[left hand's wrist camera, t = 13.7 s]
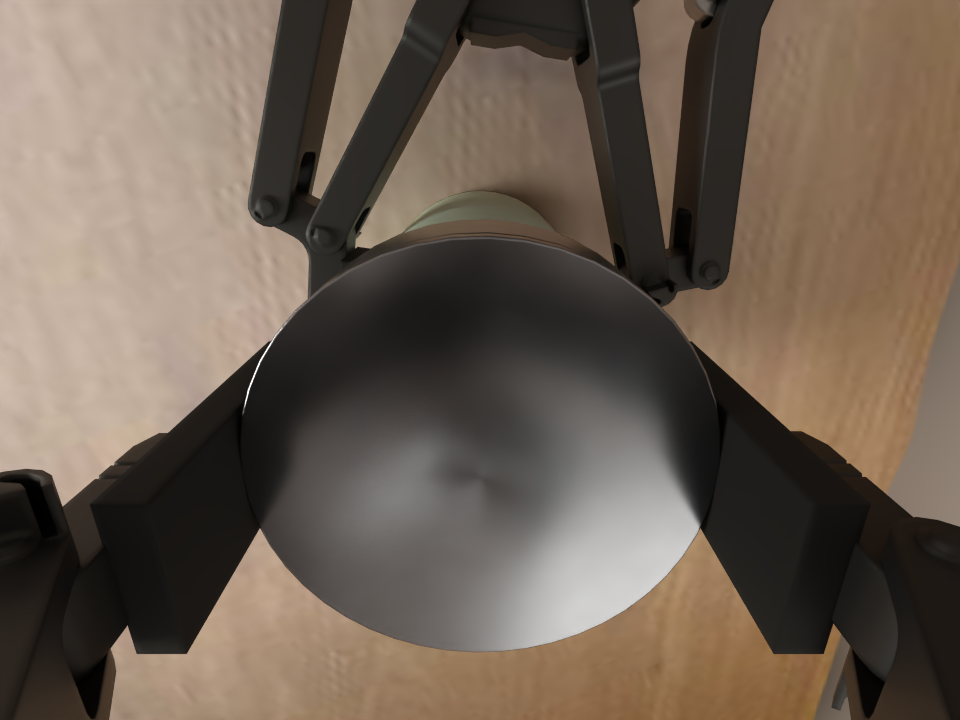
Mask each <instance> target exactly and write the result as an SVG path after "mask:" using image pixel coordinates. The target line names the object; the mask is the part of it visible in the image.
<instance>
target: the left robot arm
mask: <svg viewBox="0 0 960 720" xmlns="http://www.w3.org/2000/svg"><path fill="white" fill-rule="evenodd" d="M270 342H271V341H269V342H268V343H267V344H266V345H264V346H263V347H262V348H261V349H260V350H259V351H258V352H257V353H256V354H255V355H253V356H252V357H251V358H250V359H249V360H248V361H247V362H246V363H245V364H244V365H242V366H241V367H240V368H239V369H238V370H237V371H236V372H235V373H234V374H233V375H231V376H230V377H229V378H228V379H227V380H226V381H225V382H224V383H223V384H222V385H220V386H219V387H218V388H217V389H216V390H215V391H214V392H213V393H212V394H210V395H209V396H208V397H207V398H206V399H205V400H204V401H203V402H202V403H201V404H199V405H198V406H197V407H196V408H195V409H194V410H193V411H192V412H191V413H190V414H188V415H187V416H186V417H185V418H184V419H183V420H182V421H181V422H180V423H179V424H177V425H176V426H175V427H174V428H173V429H172V430H171V431H170V432H169V433H159V434H157V435H155V436H153V437H151V438H149V439H147V440H145V441H143V442H141V443H139V444H137V445H135V446H133V447H132V448H131V449H130V450H129V451H127V452H126V453H125V454H124V455H123V456H122V457H120V458H119V459H118V460H117V461H116V462H115V465H114V466H110V467H109V468H108V469H106V470H105V471H104V472H103V473H102V474H100V475H99V479H95V480H93V481H92V482H91V483H90V484H89V485H88V486H86V487H85V488H84V489H83V490H82V491H81V492H79V493H78V494H77V495H76V496H75V497H74V498H72V499H71V500H70V501H69V502H68V503H67V504H65V505H64V506H63V507H62V504H61V501H60V498H59V495H58V492H57V489H56V487H55V484H54V481H53V478H52V475H50V474H48V473H47V472H45V471H43V470H33V469H22V470H14V471H5V472H1V473H0V720H109V716H110V710H111V703H112V696H113V689H114V682H115V675H116V667H115V661H114V658H113V655H112V652H111V649H110V648H111V647H112V646H113V644H114V643H115V642H116V640H117V639H118V638H119V636H120V635H121V633H122V632H123V631H124V629H125V628H126V627H127V625H128V628H129V631H130V634H131V637H132V640H133V643H134V647H135V650H136V653H137V654H187V652H188V651H189V649H190V647H191V645H192V644H193V642H194V640H195V639H196V637H197V635H198V633H199V632H200V630H201V628H202V627H203V625H204V623H205V621H206V620H207V618H208V616H209V615H210V613H211V611H212V609H213V608H214V606H215V604H216V602H217V601H218V599H219V597H220V596H221V594H222V592H223V590H224V589H225V587H226V585H227V584H228V582H229V580H230V578H231V577H232V575H233V573H234V572H235V570H236V568H237V566H238V565H239V563H240V561H241V560H242V558H243V556H244V554H245V553H246V551H247V549H248V548H249V546H250V544H251V542H252V541H253V539H254V537H255V535H256V534H257V532H258V530H259V529H260V527H259V525H258V523H257V521H256V518H255V516H254V513H253V510H252V508H251V505H250V503H249V500H248V497H247V493H246V489H245V483H244V478H243V473H242V467H241V457H240V431H241V419H242V412H243V408H244V404H245V400H246V396H247V391H248V387H249V385H250V383H251V380H252V378H253V375H254V373H255V370H256V368H257V366H258V363H259V361H260V359H261V357H262V356H263V354H264V352H265V351H266V349H267V347H268V346H269V344H270ZM690 343H691V344H692V346H693V347H694V349H695V351H696V353H697V355H698V357H699V359H700V361H701V363H702V365H703V367H704V369H705V371H706V373H707V376H708V379H709V382H710V385H711V388H712V391H713V394H714V397H715V400H716V405H717V412H718V418H719V424H720V463H719V469H718V475H717V480H716V486H715V490H714V494H713V497H712V500H711V504H710V507H709V510H708V512H707V514H706V517H705V519H704V521H703V523H702V525H701V527H700V528H701V530H702V531H703V533H704V535H705V537H706V538H707V540H708V542H709V544H710V545H711V547H712V549H713V550H714V552H715V554H716V556H717V557H718V559H719V561H720V562H721V564H722V566H723V568H724V569H725V571H726V573H727V574H728V576H729V578H730V580H731V581H732V583H733V585H734V586H735V588H736V590H737V592H738V593H739V595H740V597H741V599H742V600H743V602H744V604H745V605H746V607H747V609H748V611H749V612H750V614H751V616H752V617H753V619H754V621H755V623H756V624H757V626H758V628H759V629H760V631H761V633H762V635H763V636H764V638H765V640H766V641H767V643H768V645H769V647H770V648H771V650H772V652H773V653H774V654H824V651H825V648H826V645H827V641H828V638H829V635H830V632H831V629H832V626H833V623H834V625H835V626H836V627H837V629H838V630H839V631H840V633H841V634H842V635H843V637H844V638H845V639H846V641H847V642H848V643H849V645H850V649H849V652H848V655H847V658H846V661H845V663H844V666H843V669H842V672H841V675H840V678H839V681H838V684H837V687H836V690H835V693H834V696H833V702H832V708H834V709H837V710H841V707H842V704H843V702H844V699H845V698H846V697H848V701H849V708H850V715H851V720H960V527H959V526H955V525H952V524H949V523H946V522H942V521H939V520H934V519H927V518H920V517H912V516H911V515H910V514H909V513H908V512H906V511H905V510H904V509H903V508H902V507H901V506H899V505H898V504H897V503H896V502H895V501H894V500H892V499H891V498H890V497H889V496H888V495H886V494H885V493H884V492H883V491H882V490H881V489H879V488H878V487H877V486H876V485H875V484H873V483H872V482H871V481H870V480H869V479H868V478H866V477H862V473H861V472H859V471H858V470H857V469H856V468H855V467H853V466H852V465H851V464H847V463H846V460H845V459H844V458H843V457H842V456H840V455H839V454H838V453H837V452H836V451H835V450H833V449H832V448H831V447H830V446H829V445H827V444H825V443H823V442H821V441H819V440H818V439H816V438H814V437H812V436H810V435H808V434H806V433H804V432H802V431H790V430H788V429H787V428H786V427H785V426H784V425H783V424H782V423H781V422H780V421H779V420H777V419H776V418H775V417H774V416H773V415H772V414H771V413H770V412H769V411H767V410H766V409H765V408H764V407H763V406H762V405H761V404H760V403H759V402H758V401H756V400H755V399H754V398H753V397H752V396H751V395H750V394H749V393H748V392H747V391H745V390H744V389H743V388H742V387H741V386H740V385H739V384H738V383H737V382H736V381H734V380H733V379H732V378H731V377H730V376H729V375H728V374H727V373H726V372H725V371H723V370H722V369H721V368H720V367H719V366H718V365H717V364H716V363H715V362H714V361H712V360H711V359H710V358H709V357H708V356H707V355H706V354H705V353H704V352H702V351H701V350H700V349H699V348H698V347H697V346H696V345H695V344H694V343H693V342H691V341H690Z"/></svg>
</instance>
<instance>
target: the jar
mask: <svg viewBox="0 0 960 720" xmlns="http://www.w3.org/2000/svg"><path fill="white" fill-rule="evenodd" d="M479 219H490V220H500V221H510V222H518V223H523V224H527V225H531V226H535V227H539V228H543V229H547V230H550V231H552V232H555V233H557V232H556V231H555V230H554V229H553V228H552V227H551V226H550V225H549V224H548V222H547V221H546V220H545V219H544V218H543V217H542V216H541V215H540V214H539V213H538V212H536V211H535V210H534V209H532V208H531V207H530V206H528V205H527V204H525V203H523V202H521V201H520V200H518V199H515V198H513V197H510V196H508V195H504V194H500V193H496V192H488V191H470V192H465V193H459V194H456V195H453V196H450V197H447V198H445V199H443V200H441V201H438V202H436V203H435V204H433V205H432V206H430V207H429V208H427V209H426V210H425V211H424V212H423V213H422V214H420V215H419V216H418V217H417V218H416V219H415V220H414V221H413V222H412V224H411V225H410V226H409V227H408V228H407V229H406V230H405V231H404V232H403V233H405V232H409V231H412V230H415V229H418V228H421V227H424V226H428V225H433V224H439V223H444V222H450V221H456V220H479ZM557 234H558V233H557Z"/></svg>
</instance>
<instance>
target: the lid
mask: <svg viewBox="0 0 960 720" xmlns="http://www.w3.org/2000/svg"><path fill="white" fill-rule="evenodd" d="M240 457H241V467H242V473H243V478H244V483H245V489H246V493H247V497H248V500H249V503H250V505H251V508H252V510H253V513H254V516H255V518H256V521H257V523H258V525H259V527H260V528H261V530H262V532H263V534H264V536H265V538H266V539H267V541H268V543H269V545H270V546H271V548H272V549H273V550H274V552H275V553H276V554H277V556H278V557H279V558H280V560H281V561H282V562H283V564H284V565H285V567H286V568H287V569H288V570H289V571H290V572H291V573H292V574H293V575H294V576H295V577H296V578H297V579H298V580H299V581H300V582H301V583H302V584H303V585H304V586H305V587H306V588H307V589H308V590H309V591H311V592H312V593H313V594H314V595H316V596H317V597H318V598H319V599H320V600H322V601H323V602H324V603H325V604H327V605H329V606H330V607H332V608H333V609H335V610H336V611H338V612H339V613H341V614H342V615H344V616H345V617H347V618H349V619H351V620H353V621H355V622H357V623H359V624H361V625H363V626H365V627H367V628H369V629H371V630H373V631H376V632H379V633H381V634H384V635H386V636H389V637H392V638H394V639H398V640H401V641H405V642H409V643H412V644H416V645H420V646H425V647H431V648H437V649H443V650H451V651H465V652H500V651H509V650H517V649H525V648H530V647H535V646H539V645H544V644H548V643H553V642H556V641H559V640H562V639H565V638H568V637H571V636H574V635H577V634H580V633H582V632H584V631H587V630H589V629H591V628H593V627H595V626H598V625H600V624H602V623H604V622H606V621H607V620H609V619H611V618H613V617H614V616H616V615H618V614H620V613H621V612H623V611H625V610H626V609H628V608H629V607H630V606H632V605H633V604H634V603H636V602H637V601H638V600H640V599H641V598H643V597H644V596H645V595H647V594H648V593H649V592H650V591H651V590H652V589H653V588H654V587H655V586H656V585H657V584H658V583H660V582H661V581H662V580H663V579H664V578H665V577H666V576H667V575H668V574H669V572H670V571H671V570H672V569H673V568H674V566H675V565H676V564H677V563H678V562H679V560H680V559H681V558H682V557H683V556H684V554H685V552H686V551H687V549H688V548H689V546H690V545H691V543H692V542H693V540H694V538H695V537H696V535H697V534H698V532H699V529H700V527H701V525H702V523H703V521H704V519H705V517H706V514H707V512H708V510H709V507H710V504H711V500H712V497H713V494H714V490H715V486H716V480H717V475H718V469H719V463H720V424H719V418H718V412H717V405H716V400H715V397H714V394H713V391H712V388H711V385H710V382H709V379H708V376H707V373H706V371H705V369H704V367H703V365H702V363H701V361H700V359H699V357H698V355H697V353H696V351H695V349H694V347H693V346H692V344H691V343H690V341H689V340H688V339H687V337H686V336H685V335H684V333H683V332H682V330H681V329H680V328H679V326H678V325H677V323H676V322H675V321H674V320H673V319H672V318H671V317H670V316H669V315H668V314H667V313H666V312H665V311H664V310H663V309H662V308H661V306H660V305H659V304H658V303H657V302H656V301H655V300H654V299H653V298H652V297H650V296H649V295H648V294H647V293H646V292H645V291H643V290H642V289H641V288H640V287H639V286H638V285H636V284H635V283H634V282H633V281H632V280H631V279H629V278H628V277H627V276H626V275H625V274H624V273H622V272H621V271H620V270H619V269H618V268H616V267H615V266H614V265H612V264H611V263H610V262H608V261H607V260H606V259H604V258H603V257H602V256H600V255H599V254H598V253H596V252H594V251H592V250H591V249H589V248H587V247H585V246H583V245H582V244H580V243H578V242H576V241H575V240H573V239H570V238H568V237H565V236H562V235H560V234H557V233H555V232H552V231H550V230H547V229H543V228H539V227H535V226H531V225H527V224H523V223H518V222H510V221H500V220H490V219H479V220H456V221H450V222H444V223H439V224H433V225H428V226H424V227H421V228H418V229H415V230H412V231H409V232H405V233H402V234H399V235H397V236H395V237H393V238H391V239H389V240H387V241H385V242H383V243H380V244H378V245H376V246H374V247H373V248H371V249H370V250H368V251H367V252H365V253H363V254H362V255H360V256H359V257H357V258H356V259H354V260H353V261H351V262H350V263H349V264H348V265H347V266H345V267H344V268H343V269H342V270H341V271H340V272H338V273H337V274H336V275H335V276H334V277H333V278H331V279H330V280H329V281H328V282H327V283H326V284H325V285H323V286H322V287H321V288H320V289H319V290H318V291H317V292H315V293H314V294H313V295H312V296H311V297H310V298H309V299H308V300H306V301H305V302H304V303H303V304H302V305H301V306H300V307H298V308H297V309H296V310H295V312H294V313H293V314H292V315H291V316H290V317H289V319H288V320H287V321H286V322H285V323H284V325H283V326H282V327H281V328H280V329H279V331H278V332H277V333H276V334H275V336H274V338H273V339H272V341H271V342H270V344H269V346H268V347H267V349H266V351H265V352H264V354H263V356H262V357H261V359H260V361H259V363H258V366H257V368H256V370H255V373H254V375H253V378H252V380H251V383H250V385H249V387H248V391H247V396H246V400H245V404H244V408H243V412H242V419H241V431H240Z"/></svg>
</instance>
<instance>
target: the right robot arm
mask: <svg viewBox="0 0 960 720" xmlns="http://www.w3.org/2000/svg"><path fill="white" fill-rule="evenodd" d="M639 1H640V0H417V1H416V3H415V5H414V7H413V9H412V11H411V13H410V15H409V17H408V19H407V22H406V25H405V29H404V33H403V36H402V39H401V41H400V43H399V45H398V47H397V49H396V51H395V53H394V55H393V57H392V59H391V61H390V63H389V65H388V67H387V69H386V71H385V73H384V75H383V77H382V79H381V81H380V83H379V85H378V87H377V89H376V91H375V93H374V95H373V97H372V99H371V101H370V103H369V105H368V107H367V109H366V111H365V113H364V115H363V117H362V119H361V121H360V123H359V125H358V127H357V129H356V131H355V133H354V135H353V137H352V139H351V141H350V143H349V145H348V147H347V149H346V151H345V153H344V155H343V157H342V159H341V161H340V163H339V165H338V167H337V169H336V171H335V172H334V174H333V176H332V178H331V180H330V182H329V184H328V186H327V188H326V190H325V192H324V194H323V196H322V198H321V200H320V199H318V198H316V197H314V196H312V190H313V185H314V181H315V176H316V171H317V166H318V162H319V157H320V152H321V148H322V143H323V138H324V133H325V129H326V124H327V119H328V114H329V110H330V105H331V100H332V96H333V91H334V86H335V81H336V77H337V72H338V67H339V62H340V58H341V53H342V48H343V44H344V39H345V34H346V29H347V25H348V20H349V15H350V10H351V5H352V0H282V5H281V11H280V17H279V23H278V29H277V34H276V40H275V46H274V52H273V58H272V64H271V70H270V75H269V81H268V87H267V93H266V99H265V105H264V110H263V116H262V122H261V128H260V134H259V140H258V146H257V151H256V157H255V163H254V169H253V175H252V181H251V186H250V192H249V198H248V209H249V212H250V214H251V216H252V217H253V219H254V220H255V221H256V222H257V223H259V224H261V225H263V226H268V227H273V226H274V227H276V228H278V229H280V230H282V231H284V232H286V233H288V234H290V235H292V236H294V237H295V238H297V239H298V240H299V241H300V242H301V243H302V244H303V245H304V247H305V248H306V250H307V253H308V256H309V279H308V299H309V298H310V297H311V296H312V295H313V294H314V293H315V292H317V291H318V290H319V289H320V288H321V287H322V286H323V285H325V284H326V283H327V282H328V281H329V280H330V279H331V278H333V277H334V276H335V275H336V274H337V273H338V272H340V271H341V270H342V269H343V268H344V267H345V266H347V265H348V264H349V263H350V262H351V261H353V260H354V259H356V258H357V257H359V256H360V255H362V254H363V253H365V252H367V251H368V250H370V249H369V248H362V247H357V248H356V249H355V241H356V238H358V237H359V235H360V234H361V232H360V230H361V228H362V226H363V225H364V223H365V221H366V219H367V217H368V215H369V213H370V212H371V210H372V208H373V206H374V204H375V202H376V200H377V199H378V197H379V195H380V193H381V191H382V189H383V187H384V186H385V184H386V182H387V180H388V178H389V176H390V174H391V173H392V171H393V169H394V167H395V165H396V163H397V161H398V160H399V158H400V156H401V154H402V152H403V150H404V148H405V147H406V145H407V143H408V141H409V139H410V137H411V135H412V134H413V132H414V130H415V128H416V126H417V124H418V122H419V121H420V119H421V117H422V115H423V113H424V111H425V109H426V108H427V106H428V104H429V102H430V100H431V98H432V96H433V95H434V93H435V91H436V89H437V87H438V85H439V83H440V82H441V80H442V78H443V76H444V74H445V73H446V72H447V70H448V69H449V68H450V66H451V65H452V63H453V61H454V59H455V57H456V56H457V54H458V52H459V50H460V48H461V46H462V44H463V43H464V41H465V39H466V38H467V39H469V40H470V41H471V45H475V46H481V47H487V48H493V49H496V48H504V47H511V46H523V47H525V48H527V49H529V50H531V51H533V52H535V53H537V54H539V55H541V56H543V57H548V58H554V59H560V60H566V61H567V60H568V59H569V58H570V57H572V60H573V66H574V71H575V76H576V81H577V85H578V88H579V91H580V93H581V95H582V98H583V102H584V107H585V113H586V118H587V123H588V128H589V133H590V139H591V144H592V149H593V154H594V159H595V165H596V170H597V175H598V180H599V185H600V191H601V196H602V201H603V206H604V211H605V217H606V222H607V227H608V232H609V237H610V243H611V248H612V253H613V258H614V263H615V267H616V268H618V269H619V270H620V271H621V272H622V273H624V274H625V275H626V276H627V277H628V278H629V279H631V280H632V281H633V282H634V283H635V284H636V285H638V286H639V287H640V288H641V289H642V290H643V291H645V292H646V293H647V294H648V295H649V296H650V297H652V298H653V299H654V300H655V301H656V302H657V303H658V304H659V305H660V306H661V307H663V306H665V305H667V304H669V303H670V302H671V301H672V300H673V299H674V298H675V296H676V294H677V292H678V291H683V290H688V289H693V288H698V287H699V288H701V289H705V290H711V289H715V288H717V287H718V286H720V285H721V284H722V283H723V282H724V281H725V280H726V278H727V275H728V272H729V266H730V259H731V251H732V244H733V236H734V229H735V221H736V214H737V206H738V199H739V192H740V184H741V177H742V169H743V162H744V154H745V147H746V139H747V132H748V124H749V117H750V109H751V102H752V94H753V87H754V79H755V72H756V64H757V57H758V49H759V42H760V34H761V28H762V25H763V23H764V21H765V19H766V16H767V14H768V12H769V10H770V7H771V5H772V3H773V1H774V0H684V8H685V10H686V13H687V14H688V15H689V17H690V18H692V19H693V20H695V23H694V26H693V29H692V32H691V36H690V40H689V44H688V50H687V57H686V65H685V76H684V87H683V98H682V109H681V120H680V131H679V142H678V153H677V164H676V174H675V185H674V196H673V207H672V218H671V229H670V240H669V248H667V249H665V244H664V237H663V231H662V225H661V218H660V212H659V205H658V199H657V193H656V186H655V180H654V173H653V167H652V161H651V154H650V148H649V141H648V135H647V129H646V122H645V116H644V110H643V103H642V97H641V90H640V84H639V69H640V50H639V43H638V37H637V30H636V24H635V17H634V10H633V7H634V6H635V5H636V4H637V3H638V2H639Z"/></svg>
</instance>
